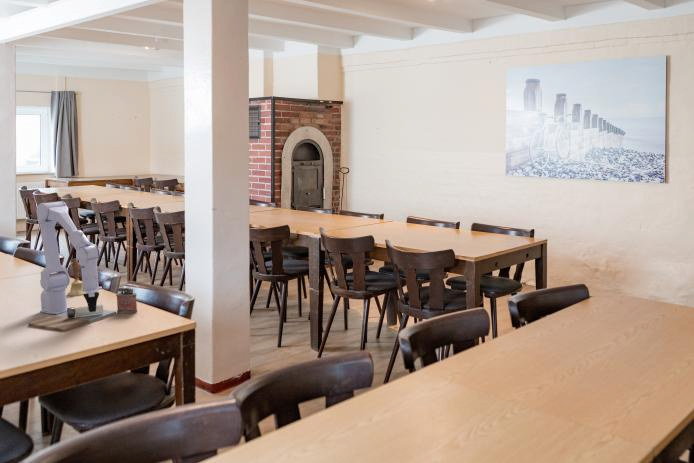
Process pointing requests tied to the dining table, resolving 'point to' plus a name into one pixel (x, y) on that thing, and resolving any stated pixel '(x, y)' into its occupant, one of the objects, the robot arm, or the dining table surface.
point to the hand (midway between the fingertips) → (92, 311)
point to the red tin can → (126, 301)
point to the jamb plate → (58, 323)
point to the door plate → (91, 316)
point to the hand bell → (76, 281)
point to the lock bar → (83, 311)
